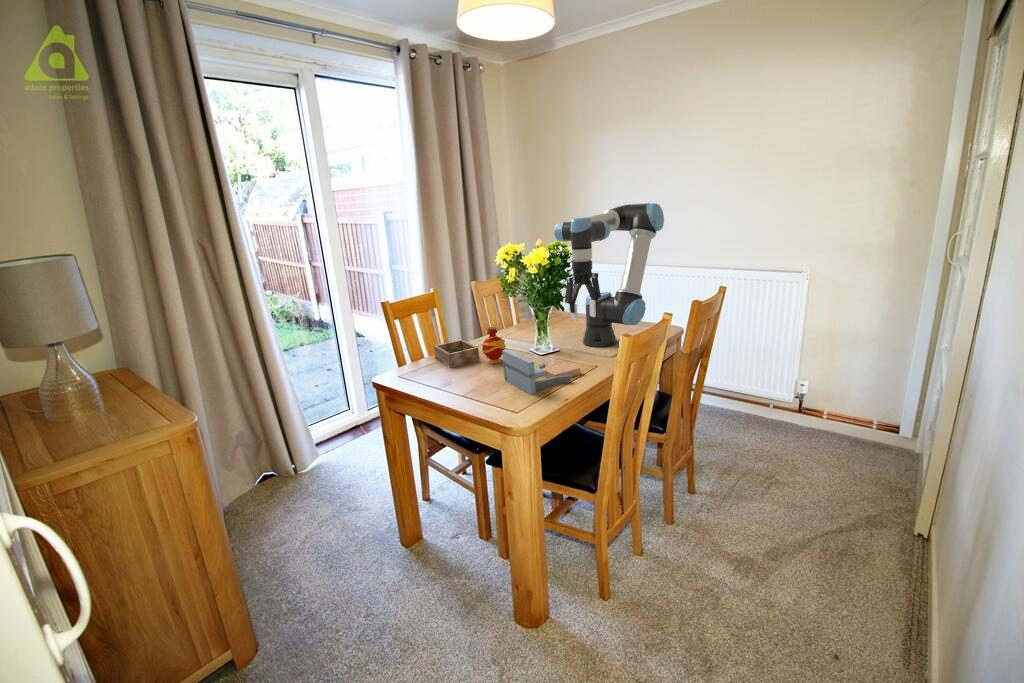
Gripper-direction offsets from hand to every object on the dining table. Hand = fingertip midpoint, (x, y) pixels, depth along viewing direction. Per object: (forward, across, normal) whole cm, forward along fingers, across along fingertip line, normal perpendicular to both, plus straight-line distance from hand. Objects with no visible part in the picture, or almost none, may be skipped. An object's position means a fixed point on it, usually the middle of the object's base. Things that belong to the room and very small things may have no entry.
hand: (583, 318), depth 186 cm
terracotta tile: (+21, +12, 0) cm, 24 cm away
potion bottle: (+21, +24, -32) cm, 45 cm away
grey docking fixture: (+20, +23, 0) cm, 31 cm away
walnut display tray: (+20, +36, -46) cm, 62 cm away
